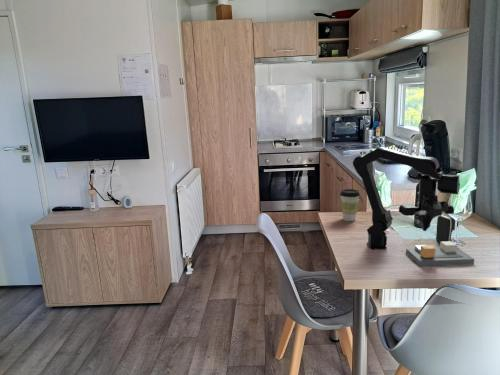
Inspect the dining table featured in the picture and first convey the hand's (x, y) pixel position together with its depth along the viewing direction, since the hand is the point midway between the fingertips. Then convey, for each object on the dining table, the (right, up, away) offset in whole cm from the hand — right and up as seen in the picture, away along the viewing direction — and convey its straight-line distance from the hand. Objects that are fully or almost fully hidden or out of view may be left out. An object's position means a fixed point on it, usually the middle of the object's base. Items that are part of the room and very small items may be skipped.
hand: (424, 230), depth 144 cm
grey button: (0, -10, +2) cm, 10 cm away
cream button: (+10, -8, +2) cm, 13 cm away
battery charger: (+16, -7, +15) cm, 23 cm away
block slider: (-1, -9, -4) cm, 10 cm away
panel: (+5, -11, 0) cm, 12 cm away
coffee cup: (-16, 0, +49) cm, 52 cm away
